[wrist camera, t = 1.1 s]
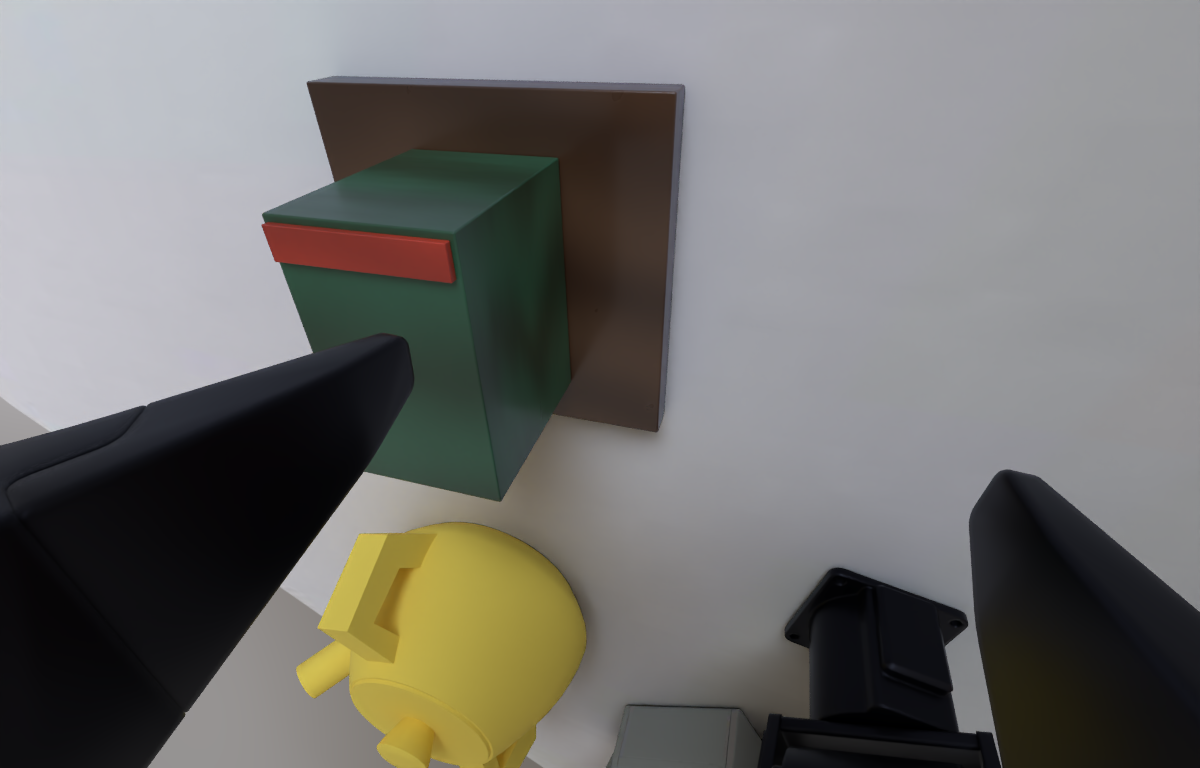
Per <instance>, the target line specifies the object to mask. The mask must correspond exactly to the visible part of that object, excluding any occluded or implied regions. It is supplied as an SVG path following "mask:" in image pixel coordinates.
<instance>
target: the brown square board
mask: <svg viewBox="0 0 1200 768" xmlns="http://www.w3.org/2000/svg"><path fill="white" fill-rule="evenodd" d="M307 87H308V90H309V94H310V97H311V101H312V104H313V108H314V111H315V115H316V118H317V122H318V125H319V129H320V132H321V136H322V139H323V143H324V146H325V150H326V153H327V157H328V160H329V164H330V167H331V171H332V174H333V178H334V181H335V182H337V181H339V180H341V179H344V178H346V177H348V176H351V175H353V174H355V173H357V172H360V171H362V170H364V169H367V168H369V167H371V166H374V165H376V164H378V163H381V162H383V161H385V160H388V159H390V158H392V157H395V156H397V155H399V154H402V153H404V152H406V151H409V150H411V149H419V150H436V151H453V152H470V153H487V154H504V155H521V156H538V157H555V158H558V162H559V179H560V196H561V214H562V231H563V249H564V266H565V284H566V301H567V319H568V336H569V354H570V371H571V383H570V385H569V386H568V388H567V390H566V391H565V393H564V395H563V397H562V398H561V400H560V402H559V403H558V405H557V407H556V408H555V410H554V412H553V414H556V415H562V416H567V417H573V418H578V419H584V420H590V421H595V422H601V423H607V424H612V425H618V426H624V427H629V428H635V429H641V430H646V431H652V432H658V430H659V427H660V424H661V421H662V418H663V415H664V410H665V394H666V379H667V363H668V347H669V331H670V316H671V300H672V284H673V268H674V252H675V237H676V221H677V205H678V189H679V173H680V158H681V142H682V126H683V110H684V95H685V86H684V85H682V84H640V83H599V82H557V81H515V80H474V79H432V78H390V77H349V76H332V77H327V78H322V79H318V80H313V81H308V82H307Z"/></svg>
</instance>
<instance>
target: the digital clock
mask: <svg viewBox="0 0 1200 768" xmlns="http://www.w3.org/2000/svg"><path fill="white" fill-rule="evenodd" d="M761 744H762V741H761V739H760V738H759V736H758V735H757V733H756V732H755V730H754V729H753V727H752V726H751V724H750V723H749V721H748V720H747V718H746V717H745V715H744V714H743V712H742V711H741V710H740V709H723V708H692V707H660V706H628V705H627V706H626V707H625V710H624V714H623V718H622V722H621V726H620V730H619V734H618V738H617V742H616V746H615V750H614V753H613V754H612V756H611V758H610V760H609V762H608V764H607V766H606V768H757V766H758V761H759V755H760V750H761Z"/></svg>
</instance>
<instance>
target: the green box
mask: <svg viewBox="0 0 1200 768" xmlns="http://www.w3.org/2000/svg"><path fill="white" fill-rule="evenodd" d="M262 216H263V219H264V222H265V224H262V228H263V231H264V233H265V236H266V239H267V241H268V244H269V247H270V249H271V252H272V255H273V257H274V260H275V262H280V265H281V268H282V270H283V273H284V276H285V278H286V281H287V284H288V286H289V289H290V292H291V295H292V297H293V300H294V303H295V305H296V308H297V311H298V313H299V316H300V319H301V322H302V324H303V327H304V330H305V332H306V335H307V338H308V340H309V343H310V346H311V349H312V351H313V353H316V352H319V351H323V350H326V349H329V348H332V347H336V346H339V345H342V344H345V343H349V342H352V341H355V340H359V339H362V338H365V337H368V336H372V335H375V334H378V333H388V334H392V335H397V336H401V337H403V338H405V339H406V340H407V342H408V344H409V349H410V354H411V360H412V365H413V371H414V378H415V380H414V387H413V390H412V392H411V394H410V396H409V397H408V399H407V401H406V402H405V404H404V406H403V408H402V409H401V411H400V413H399V415H398V416H397V418H396V420H395V421H394V423H393V425H392V427H391V428H390V430H389V432H388V434H387V435H386V437H385V439H384V440H383V442H382V444H381V446H380V447H379V449H378V451H377V452H376V454H375V456H374V457H373V459H372V460H371V462H370V463H369V465H368V466H367V468H366V469H365V471H364V472H368V473H373V474H377V475H382V476H386V477H391V478H395V479H400V480H404V481H409V482H413V483H418V484H422V485H427V486H431V487H436V488H440V489H444V490H449V491H453V492H458V493H462V494H467V495H471V496H476V497H480V498H485V499H489V500H494V501H498V502H501V501H502V499H503V497H504V496H505V494H506V492H507V490H508V489H509V487H510V485H511V484H512V482H513V480H514V478H515V477H516V475H517V473H518V472H519V470H520V468H521V466H522V465H523V463H524V461H525V460H526V458H527V456H528V455H529V453H530V451H531V449H532V448H533V446H534V444H535V443H536V441H537V439H538V437H539V436H540V434H541V432H542V431H543V429H544V427H545V426H546V424H547V422H548V420H549V419H550V417H551V415H552V414H553V412H554V410H555V408H556V407H557V405H558V403H559V402H560V400H561V398H562V397H563V395H564V393H565V391H566V390H567V388H568V386H569V385H570V383H571V371H570V354H569V336H568V319H567V301H566V284H565V266H564V249H563V231H562V214H561V196H560V179H559V162H558V158H555V157H538V156H521V155H504V154H487V153H470V152H453V151H436V150H419V149H411V150H409V151H406V152H404V153H402V154H399V155H397V156H395V157H392V158H390V159H388V160H385V161H383V162H381V163H378V164H376V165H374V166H371V167H369V168H367V169H364V170H362V171H360V172H357V173H355V174H353V175H351V176H348V177H346V178H344V179H341V180H339V181H337V182H334V183H332V184H330V185H327V186H325V187H323V188H320V189H318V190H316V191H313V192H311V193H309V194H306V195H304V196H302V197H299V198H297V199H295V200H292V201H290V202H288V203H285V204H283V205H281V206H278V207H276V208H274V209H271V210H269V211H267V212H264V213H263V214H262Z"/></svg>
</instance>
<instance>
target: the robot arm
mask: <svg viewBox="0 0 1200 768" xmlns="http://www.w3.org/2000/svg"><path fill="white" fill-rule="evenodd" d="M414 380H415V378H414V371H413V365H412V360H411V354H410V349H409V344H408V342H407V340H406V339H405V338H403V337H401V336H397V335H392V334H388V333H378V334H375V335H372V336H368V337H365V338H362V339H359V340H355V341H352V342H349V343H345V344H342V345H339V346H336V347H332V348H329V349H326V350H323V351H319V352H316V353H313V354H309V355H306V356H303V357H300V358H296V359H293V360H290V361H287V362H283V363H280V364H277V365H273V366H270V367H267V368H264V369H260V370H257V371H254V372H251V373H247V374H244V375H241V376H237V377H234V378H231V379H228V380H224V381H221V382H218V383H215V384H211V385H208V386H205V387H202V388H198V389H195V390H192V391H188V392H185V393H182V394H179V395H175V396H172V397H169V398H166V399H162V400H159V401H156V402H152V403H150V404H148V405H147V407H146V406H139V407H136V408H132V409H129V410H126V411H123V412H119V413H116V414H113V415H109V416H106V417H103V418H99V419H96V420H92V421H89V422H85V423H82V424H79V425H75V426H72V427H68V428H65V429H61V430H57V431H53V432H50V433H46V434H42V435H39V436H35V437H31V438H27V439H24V440H20V441H17V442H13V443H9V444H5V445H1V446H0V768H147V767H148V766H149V765H150V763H151V761H152V760H153V759H154V758H155V756H156V755H157V754H158V752H159V751H160V750H161V748H162V747H163V745H164V744H165V743H166V741H167V740H168V738H169V737H170V736H171V735H172V733H173V731H174V730H175V729H176V728H177V726H178V725H179V724H180V722H181V721H182V719H183V718H184V717H185V712H187V711H189V709H190V708H191V707H192V705H193V704H194V703H195V701H196V700H197V698H198V697H199V696H200V694H201V693H202V692H203V690H204V689H205V688H206V686H207V685H208V683H209V682H210V681H211V679H212V678H213V677H214V675H215V674H216V673H217V671H218V670H219V668H220V667H221V666H222V664H223V663H224V662H225V660H226V659H227V657H228V656H229V655H230V653H231V652H232V651H233V649H234V648H235V647H236V645H237V644H238V642H239V641H240V640H241V638H242V637H243V636H244V634H245V633H246V632H247V630H248V629H249V628H250V626H251V625H252V623H253V622H254V621H255V619H256V618H257V617H258V615H259V614H260V613H261V611H262V610H263V608H264V607H265V606H266V604H267V603H268V602H269V600H270V599H271V598H272V596H273V595H274V593H275V592H276V591H277V589H278V588H279V587H280V585H281V584H282V583H283V581H284V580H285V578H286V577H287V576H288V574H289V573H290V572H291V570H292V569H293V568H294V566H295V565H296V563H297V562H298V561H299V559H300V558H301V557H302V555H303V554H304V553H305V551H306V550H307V548H308V547H309V546H310V544H311V543H312V542H313V540H314V539H315V538H316V536H317V535H318V533H319V532H320V531H321V529H322V528H323V527H324V525H325V524H326V523H327V521H328V520H329V518H330V517H331V516H332V514H333V513H334V512H335V510H336V509H337V508H338V506H339V505H340V503H341V502H342V501H343V499H344V498H345V497H346V495H347V494H348V493H349V491H350V490H351V488H352V487H353V486H354V484H355V483H356V482H357V480H358V479H359V478H360V476H361V475H362V473H363V472H364V471H365V469H366V468H367V466H368V465H369V463H370V462H371V460H372V459H373V457H374V456H375V454H376V452H377V451H378V449H379V447H380V446H381V444H382V442H383V440H384V439H385V437H386V435H387V434H388V432H389V430H390V428H391V427H392V425H393V423H394V421H395V420H396V418H397V416H398V415H399V413H400V411H401V409H402V408H403V406H404V404H405V402H406V401H407V399H408V397H409V396H410V394H411V392H412V390H413V387H414ZM969 535H970V551H971V566H972V582H973V598H974V612H975V622H976V630H977V636H978V642H979V648H980V653H981V658H982V663H983V669H984V674H985V679H986V684H987V689H988V694H989V700H990V705H991V710H992V715H993V720H994V725H995V731H996V736H997V741H998V746H999V751H1000V757H1001V762H1002V767H1003V768H1200V612H1199V611H1198V610H1197V609H1195V608H1194V607H1193V606H1192V605H1191V604H1189V603H1188V602H1187V601H1186V600H1185V599H1184V598H1182V597H1181V596H1180V595H1179V594H1178V593H1176V592H1175V591H1174V590H1173V589H1172V588H1170V587H1169V586H1168V585H1167V584H1166V583H1165V582H1163V581H1162V580H1161V579H1160V578H1159V577H1157V576H1156V575H1155V574H1154V573H1153V572H1151V571H1150V570H1149V569H1148V568H1147V567H1145V566H1144V565H1143V564H1142V563H1141V562H1140V561H1138V560H1137V559H1136V558H1135V557H1134V556H1132V555H1131V554H1130V553H1129V552H1128V551H1126V550H1125V549H1124V548H1123V547H1122V546H1121V545H1119V544H1118V543H1117V542H1116V541H1115V540H1113V539H1112V538H1111V537H1110V536H1109V535H1107V534H1106V533H1105V532H1104V531H1103V530H1102V529H1100V528H1099V527H1098V526H1097V525H1096V524H1094V523H1093V522H1092V521H1091V520H1090V519H1088V518H1087V517H1086V516H1085V515H1084V514H1082V513H1081V512H1080V511H1079V510H1078V509H1077V508H1075V507H1074V506H1073V505H1072V504H1071V503H1069V502H1068V501H1067V500H1066V499H1065V498H1063V497H1062V496H1061V495H1060V494H1059V493H1058V492H1056V491H1055V490H1054V489H1053V488H1052V487H1050V486H1049V485H1048V484H1047V483H1046V482H1044V481H1043V480H1042V479H1041V478H1039V477H1037V476H1035V475H1031V474H1026V473H1022V472H1017V471H1012V470H1002V471H1000V472H998V473H997V474H996V475H995V476H994V478H993V479H992V481H991V482H990V484H989V485H988V487H987V488H986V490H985V491H984V493H983V494H982V496H981V497H980V499H979V500H978V502H977V503H976V505H975V506H974V508H973V510H972V512H971V515H970V519H969ZM967 627H968V621H967V617H966V614H965V613H964V612H962V611H960V610H957V609H954V608H951V607H948V606H946V605H943V604H940V603H937V602H935V601H932V600H929V599H926V598H924V597H921V596H918V595H915V594H912V593H910V592H907V591H904V590H901V589H899V588H896V587H893V586H890V585H888V584H885V583H882V582H879V581H876V580H874V579H871V578H868V577H865V576H863V575H860V574H857V573H854V572H851V571H849V570H846V569H843V568H834V569H831V570H830V571H829V572H828V573H827V575H826V576H825V577H824V578H823V580H822V581H821V582H820V584H819V585H818V586H817V587H816V589H815V590H814V591H813V593H812V594H811V595H810V596H809V598H808V599H807V600H806V602H805V603H804V604H803V605H802V607H801V608H800V609H799V611H798V612H797V613H796V614H795V616H794V617H793V618H792V620H791V621H790V622H789V623H788V625H787V626H786V628H785V638H786V639H787V640H789V641H791V642H794V643H796V644H799V645H802V646H804V647H807V648H809V666H810V719H803V718H792V717H783V716H782V714H771V713H770V714H769V717H768V723H767V728H766V730H764V733H763V739H762V744H761V750H760V755H759V761H758V766H757V768H1001V765H1000V761H999V758H998V754H997V750H996V746H995V743H994V739H993V735H992V733H991V732H979V731H976V734H973V733H961V732H959V729H958V724H957V719H956V714H955V709H954V704H953V699H952V694H951V691H953V685H952V680H951V675H950V670H949V666H948V661H947V656H946V651H945V646H946V645H947V644H948V643H949V642H950V641H952V640H953V639H954V638H955V637H956V636H957V635H959V634H960V633H961V632H962V631H963V630H965V629H966V628H967Z"/></svg>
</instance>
